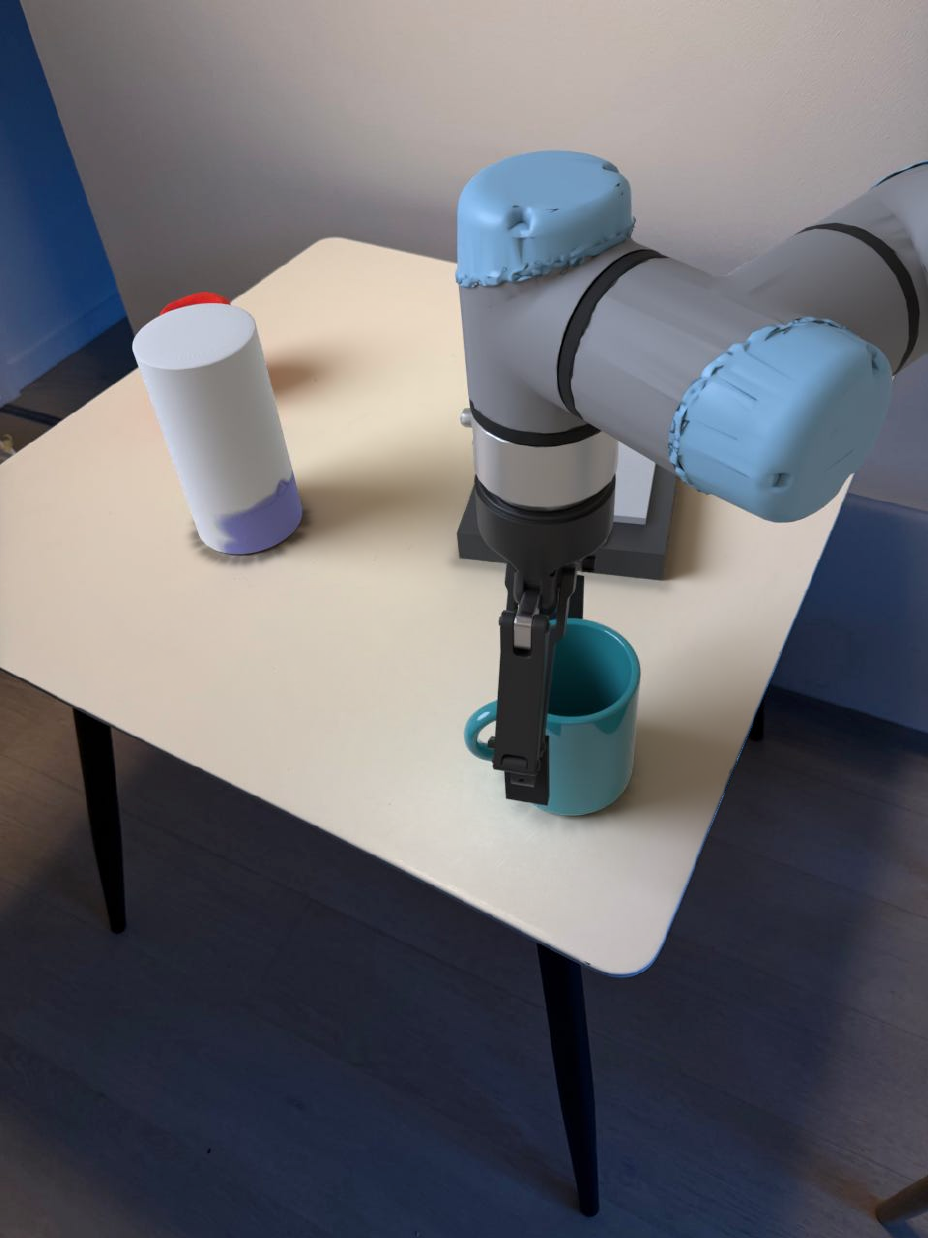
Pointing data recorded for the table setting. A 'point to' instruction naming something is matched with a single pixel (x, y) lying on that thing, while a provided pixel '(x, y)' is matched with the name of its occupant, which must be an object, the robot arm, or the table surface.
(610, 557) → the scale
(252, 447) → the container
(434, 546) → the table surface
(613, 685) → the cup
